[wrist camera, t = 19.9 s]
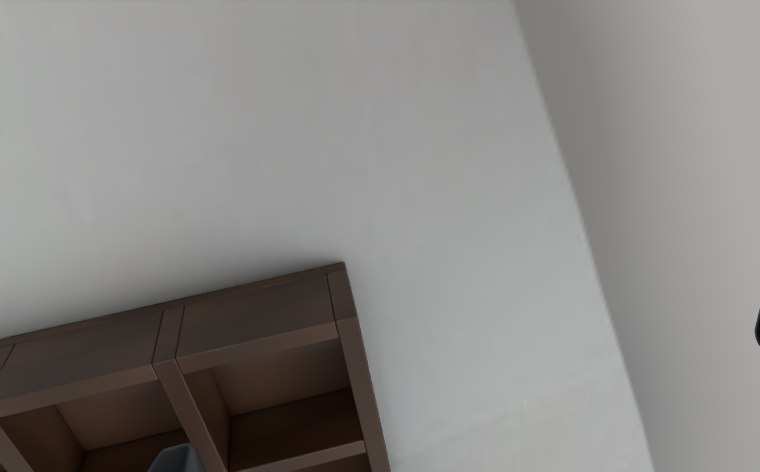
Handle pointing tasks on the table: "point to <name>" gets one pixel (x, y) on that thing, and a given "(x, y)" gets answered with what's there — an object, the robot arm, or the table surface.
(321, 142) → the table surface
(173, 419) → the grid
